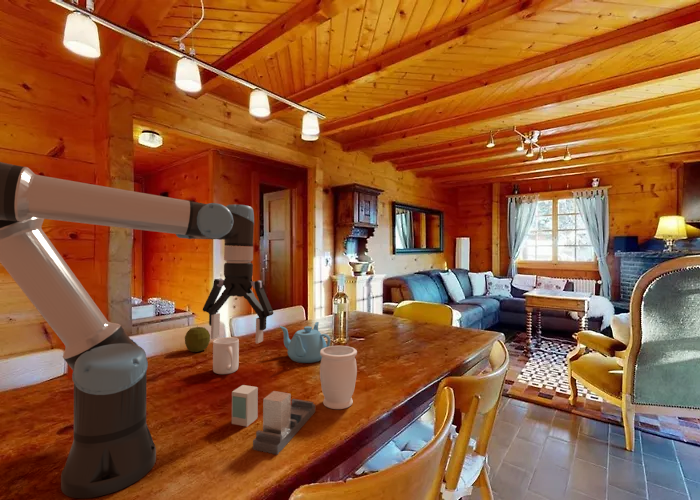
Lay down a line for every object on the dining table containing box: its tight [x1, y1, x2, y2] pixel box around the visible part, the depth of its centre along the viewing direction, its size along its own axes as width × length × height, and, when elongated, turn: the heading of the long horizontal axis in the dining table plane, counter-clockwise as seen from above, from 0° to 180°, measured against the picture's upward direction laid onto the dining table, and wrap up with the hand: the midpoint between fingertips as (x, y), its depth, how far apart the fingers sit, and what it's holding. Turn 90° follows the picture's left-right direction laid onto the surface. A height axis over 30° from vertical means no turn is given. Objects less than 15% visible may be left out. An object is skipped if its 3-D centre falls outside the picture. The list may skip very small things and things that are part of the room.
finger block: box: [231, 384, 259, 428], centre depth 87 cm, size 5×4×8 cm
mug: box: [212, 336, 240, 375], centre depth 120 cm, size 9×12×11 cm
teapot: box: [279, 321, 331, 364], centre depth 137 cm, size 17×19×12 cm
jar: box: [319, 345, 358, 410], centre depth 97 cm, size 11×10×15 cm
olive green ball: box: [184, 325, 211, 353], centre depth 144 cm, size 10×10×11 cm
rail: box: [252, 390, 316, 456], centre depth 83 cm, size 20×6×10 cm, turn 162°
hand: (236, 339), depth 94 cm, fingers open, 13 cm apart
